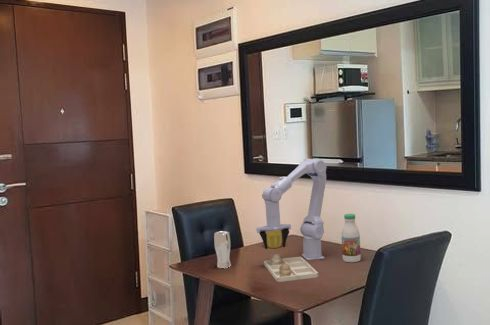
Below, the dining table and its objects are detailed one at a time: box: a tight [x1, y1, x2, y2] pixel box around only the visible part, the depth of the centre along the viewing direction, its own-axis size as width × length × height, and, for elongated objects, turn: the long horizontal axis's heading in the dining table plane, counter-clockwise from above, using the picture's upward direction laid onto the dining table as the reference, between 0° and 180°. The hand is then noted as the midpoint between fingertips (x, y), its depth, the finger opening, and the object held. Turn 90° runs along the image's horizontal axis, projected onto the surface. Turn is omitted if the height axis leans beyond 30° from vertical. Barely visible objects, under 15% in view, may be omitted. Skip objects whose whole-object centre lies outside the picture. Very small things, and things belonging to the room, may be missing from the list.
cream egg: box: [269, 252, 282, 266], centre depth 219 cm, size 4×4×6 cm
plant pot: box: [266, 230, 282, 249], centre depth 254 cm, size 10×10×10 cm
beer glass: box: [213, 230, 232, 269], centre depth 225 cm, size 7×7×15 cm
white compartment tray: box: [263, 256, 320, 283], centre depth 212 cm, size 25×17×2 cm
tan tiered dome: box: [279, 263, 291, 277], centre depth 203 cm, size 4×4×6 cm
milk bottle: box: [341, 213, 362, 263], centre depth 222 cm, size 8×8×20 cm
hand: (275, 247), depth 219 cm, fingers open, 7 cm apart
